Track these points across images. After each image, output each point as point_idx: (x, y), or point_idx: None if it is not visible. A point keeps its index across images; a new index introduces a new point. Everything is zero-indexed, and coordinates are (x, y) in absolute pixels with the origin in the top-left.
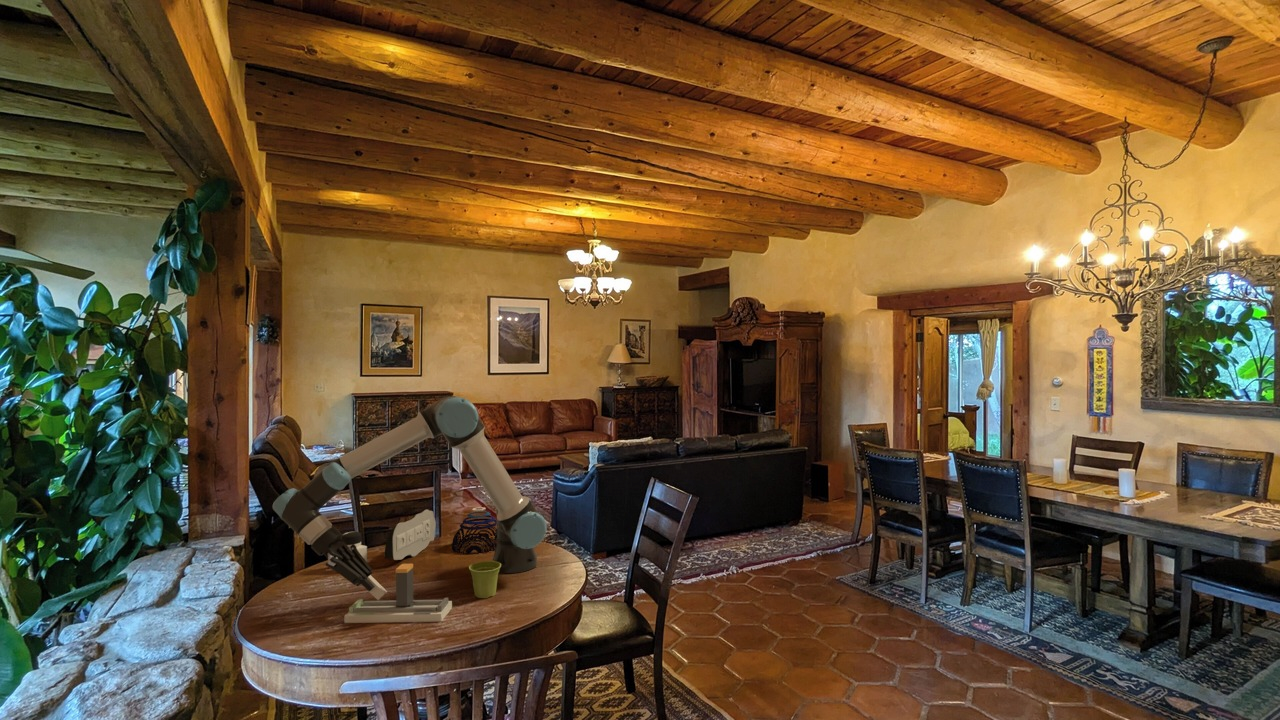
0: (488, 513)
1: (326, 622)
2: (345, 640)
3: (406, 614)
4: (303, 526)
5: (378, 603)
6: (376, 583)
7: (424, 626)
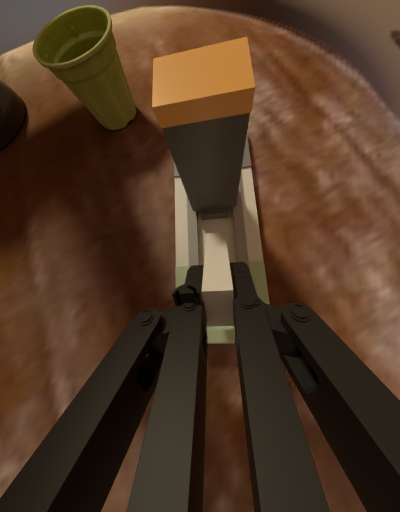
0: None
1: None
2: (367, 278)
3: (252, 181)
4: None
5: None
6: (218, 257)
7: (267, 149)
